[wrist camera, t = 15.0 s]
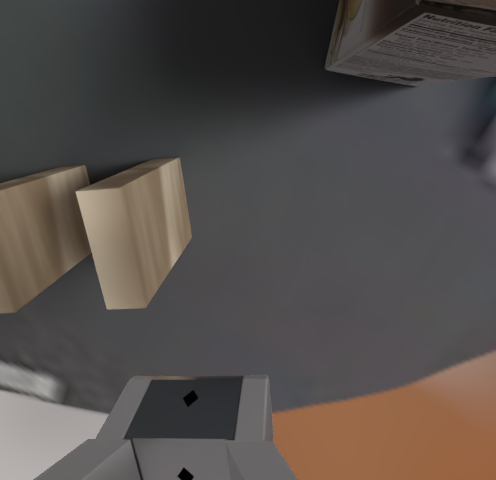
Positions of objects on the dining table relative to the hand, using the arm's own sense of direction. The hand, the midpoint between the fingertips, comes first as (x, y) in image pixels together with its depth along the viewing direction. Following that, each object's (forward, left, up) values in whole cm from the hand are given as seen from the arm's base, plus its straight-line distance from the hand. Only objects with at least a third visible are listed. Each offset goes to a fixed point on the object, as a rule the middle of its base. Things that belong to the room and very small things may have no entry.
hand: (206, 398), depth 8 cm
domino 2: (0, -6, -19) cm, 20 cm away
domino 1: (0, -13, -19) cm, 23 cm away
